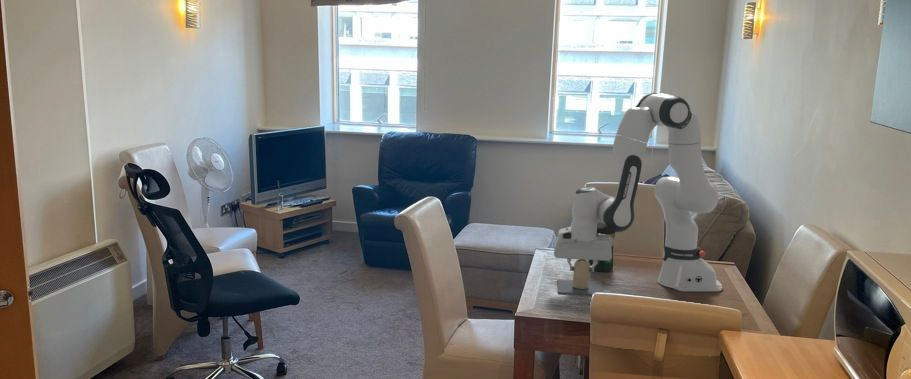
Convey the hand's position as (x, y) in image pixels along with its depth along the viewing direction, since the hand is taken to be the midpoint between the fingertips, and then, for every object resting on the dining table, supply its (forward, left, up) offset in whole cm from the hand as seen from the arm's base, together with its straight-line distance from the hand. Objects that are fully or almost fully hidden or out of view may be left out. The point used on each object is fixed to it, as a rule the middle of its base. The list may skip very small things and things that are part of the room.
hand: (581, 270), depth 247 cm
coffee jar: (-9, -26, -7) cm, 28 cm away
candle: (0, 0, -6) cm, 6 cm away
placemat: (0, 0, -7) cm, 7 cm away
